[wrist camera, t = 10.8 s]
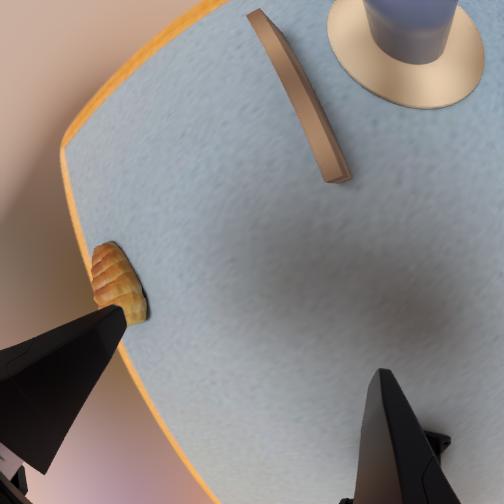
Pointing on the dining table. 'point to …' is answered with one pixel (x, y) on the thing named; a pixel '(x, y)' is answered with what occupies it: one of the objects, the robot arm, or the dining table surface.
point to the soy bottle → (411, 27)
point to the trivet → (403, 74)
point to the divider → (302, 99)
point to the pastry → (117, 283)
